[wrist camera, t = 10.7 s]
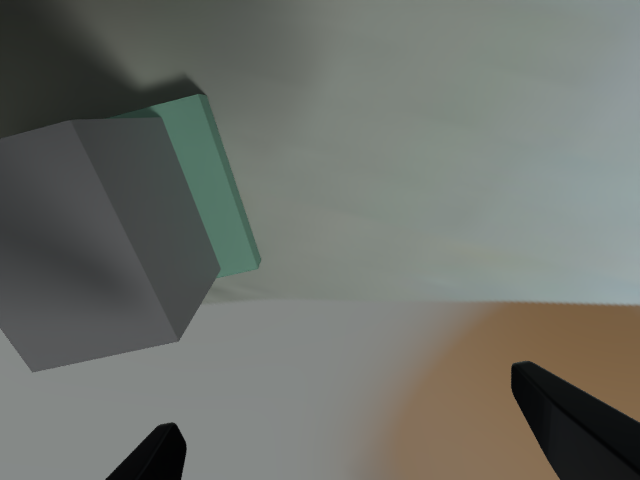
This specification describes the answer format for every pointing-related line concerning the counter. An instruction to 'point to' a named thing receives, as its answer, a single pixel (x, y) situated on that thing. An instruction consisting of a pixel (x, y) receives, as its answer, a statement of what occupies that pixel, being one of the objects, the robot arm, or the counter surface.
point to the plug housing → (97, 241)
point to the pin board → (208, 179)
